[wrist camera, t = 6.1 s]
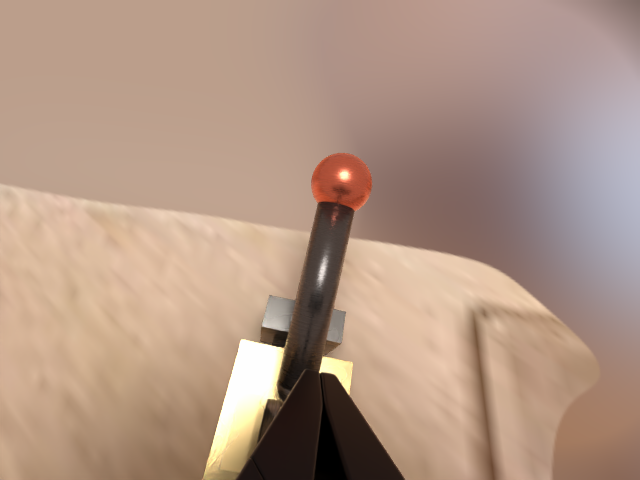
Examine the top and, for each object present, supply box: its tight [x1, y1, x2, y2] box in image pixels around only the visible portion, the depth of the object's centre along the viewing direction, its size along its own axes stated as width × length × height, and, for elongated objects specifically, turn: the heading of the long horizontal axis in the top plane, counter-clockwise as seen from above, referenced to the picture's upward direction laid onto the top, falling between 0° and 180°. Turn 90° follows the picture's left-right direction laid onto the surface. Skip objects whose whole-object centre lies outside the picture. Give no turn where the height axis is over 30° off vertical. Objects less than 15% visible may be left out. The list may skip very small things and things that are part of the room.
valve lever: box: [256, 153, 372, 446], centre depth 13 cm, size 3×3×13 cm
